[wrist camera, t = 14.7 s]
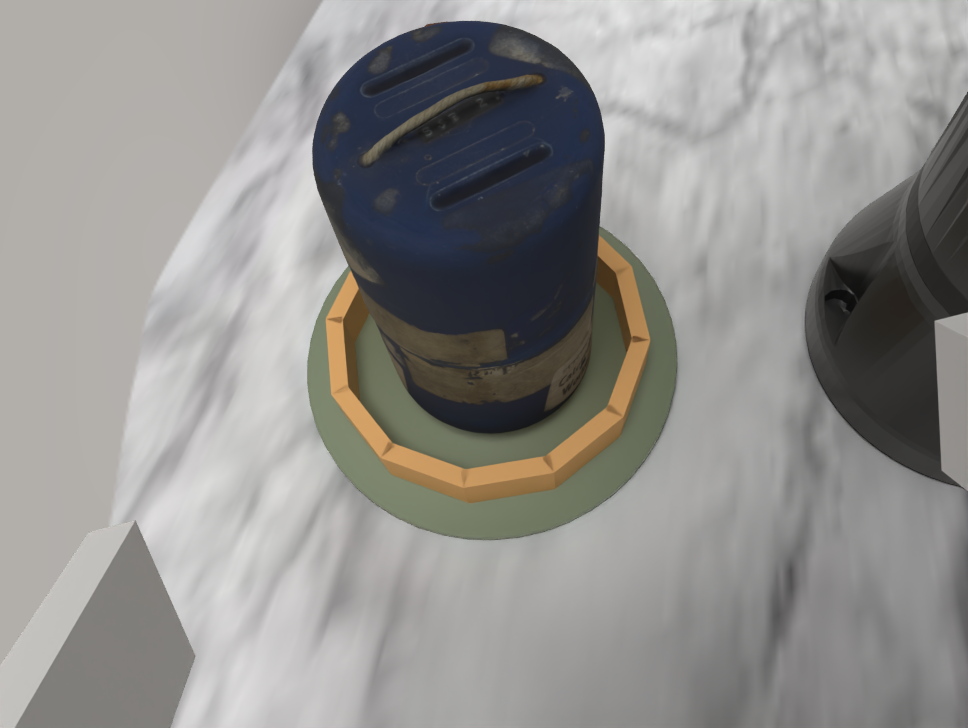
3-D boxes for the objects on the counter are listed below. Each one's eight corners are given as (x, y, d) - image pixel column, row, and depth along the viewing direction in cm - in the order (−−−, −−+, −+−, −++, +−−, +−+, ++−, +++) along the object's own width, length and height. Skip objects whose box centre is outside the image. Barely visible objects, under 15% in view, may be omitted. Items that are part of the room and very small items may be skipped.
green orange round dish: (516, 150, 48) (512, 110, 45) (755, 377, 41) (769, 347, 38) (245, 342, 44) (221, 312, 41) (456, 623, 37) (446, 612, 34)
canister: (382, 293, 44) (268, 19, 27) (562, 246, 44) (556, -55, 28) (421, 467, 40) (315, 267, 23) (618, 415, 40) (651, 179, 24)
